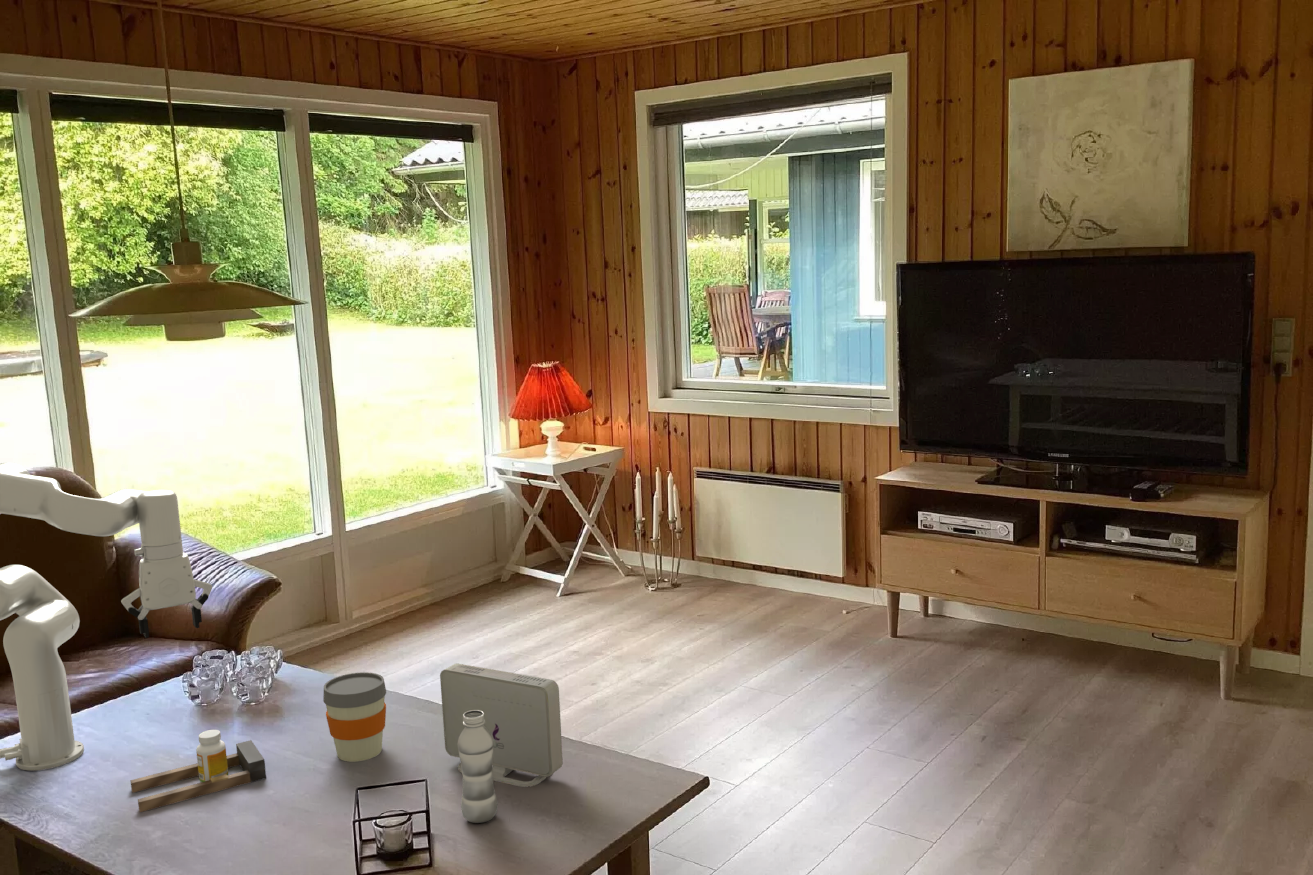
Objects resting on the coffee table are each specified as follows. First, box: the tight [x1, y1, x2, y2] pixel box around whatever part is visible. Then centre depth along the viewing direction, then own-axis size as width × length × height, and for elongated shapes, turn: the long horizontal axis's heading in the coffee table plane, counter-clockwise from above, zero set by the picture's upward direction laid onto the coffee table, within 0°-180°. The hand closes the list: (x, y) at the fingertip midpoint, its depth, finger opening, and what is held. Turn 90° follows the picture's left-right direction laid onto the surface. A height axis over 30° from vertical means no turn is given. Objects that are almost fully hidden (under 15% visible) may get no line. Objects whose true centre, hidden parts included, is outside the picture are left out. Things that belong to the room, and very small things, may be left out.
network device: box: [439, 663, 564, 788], centre depth 219 cm, size 26×9×20 cm, turn 62°
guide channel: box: [130, 739, 267, 813], centre depth 220 cm, size 23×11×4 cm, turn 122°
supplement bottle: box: [195, 729, 230, 783], centre depth 221 cm, size 5×5×10 cm
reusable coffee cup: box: [322, 671, 387, 763], centre depth 231 cm, size 13×13×15 cm
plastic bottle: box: [457, 710, 499, 824], centre depth 201 cm, size 6×7×20 cm
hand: (171, 631), depth 231 cm, fingers open, 9 cm apart
